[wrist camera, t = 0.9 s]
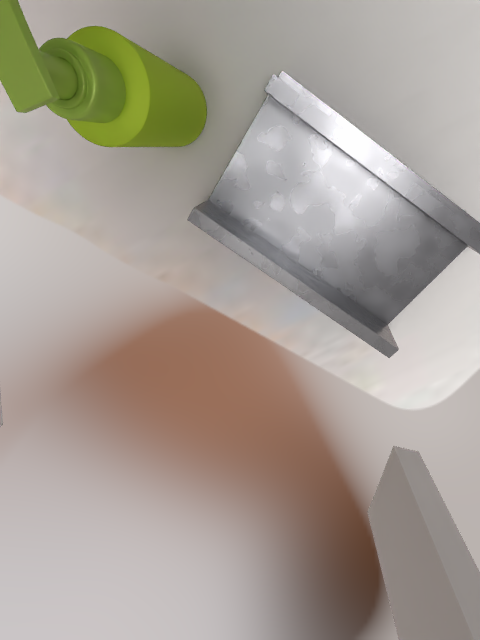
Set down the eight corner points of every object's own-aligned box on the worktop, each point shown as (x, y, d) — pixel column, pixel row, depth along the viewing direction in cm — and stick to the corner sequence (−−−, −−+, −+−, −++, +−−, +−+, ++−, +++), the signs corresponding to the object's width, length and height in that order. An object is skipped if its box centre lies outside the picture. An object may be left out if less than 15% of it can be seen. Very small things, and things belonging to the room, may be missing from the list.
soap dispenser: (190, 46, 30) (21, -103, 12) (215, 135, 32) (106, 122, 15) (129, 71, 31) (-100, -28, 13) (157, 154, 34) (-4, 164, 16)
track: (282, 72, 29) (278, 56, 24) (481, 225, 32) (516, 241, 27) (201, 215, 36) (182, 227, 30) (372, 333, 38) (383, 363, 33)
